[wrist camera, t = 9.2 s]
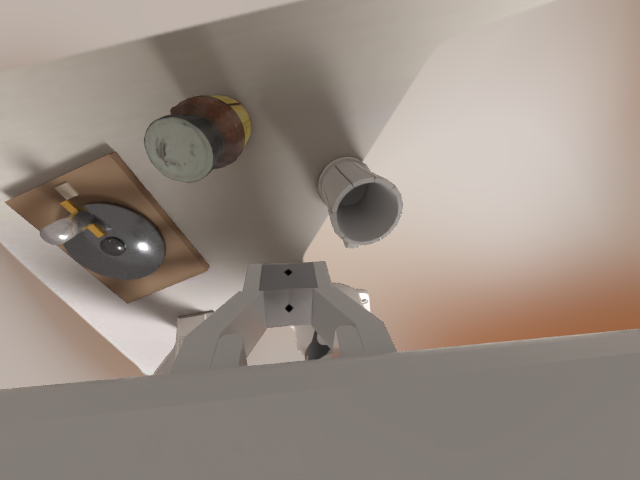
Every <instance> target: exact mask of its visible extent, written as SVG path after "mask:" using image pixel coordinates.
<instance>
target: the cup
mask: <svg viewBox="0 0 640 480" xmlns="http://www.w3.org/2000/svg"><path fill="white" fill-rule="evenodd" d="M318 190H319V194H320V197H321V199H322V201H323V203H324V204H325V205H326V206H327V207H328V211H329V215H330V219H331V223H332V226H333V228H334V231H335V233H336V234H337V235H338V236H339V237H340V238H341V239H343V242H344V244H345V247H346V248H356V247H358V246H359V245H367V244H372V243H375V242H377V241H379V240H380V238H381V239H383V238H384V237H386V236H387V235H388V234H390V233H391V231H392V230H393V229H394V228H395V226H396V225H397V224H398V222H399V219H400V217H401V215H400V214H402V208H403V202H402V198H401V194H400V192H399V190H398V189H397V187H396V186H395V185H394V184H392V183H391V182H390V181H388V180H387V179H385V178H383V177H381V176H379V175H376V174H374V173H373V172H371V171H370V170H369V168H368V167H367V165H366V164H364V163H363V162H361V161H360V160H358V159H356V158H352V157H340V158H338V159H336V160H334V161H332V162H330V163H329V164H328V165H327V166H326V167H325V168H324V170H323V171H322V173H321V175H320V178H319V182H318Z"/></svg>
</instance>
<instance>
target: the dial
mask: <svg viewBox="0 0 640 480" xmlns="http://www.w3.org/2000/svg"><path fill="white" fill-rule="evenodd" d="M60 204H61V205H62V206H63V207H64V208H66V209H67V210H68V211H69V213H68V214H67V215H66V216H65V217H64V218H62V219H60V220H58V221H56V222H54V223H52V224H50V225H48V226H46V227H44V228H43V229H41V230H40V236H41V237H42V239H43V240H45V241H46V242H48V243H50V244H53V245H61V244H63V245H64V247H65V249H66V250H67V252H68V253H69V254H70V255H71V256H72V257H73V258H74V259H75V260H76V261H77V262H78V263H80V264H81V265H82V266H84V267H85V268H87V269H89V270H91V271H93V272H95V273H97V274H100V275H102V276H106V277H109V278H114V279H122V280H133V279H139V278H143V277H146V276H148V275H150V274H152V273H153V272H155V271H156V270H157V269H158V268H159V266H160V265H161V264H162V262H163V261H164V258H165V255H166V243H165V240H164V238H163V236H162V234H161V232H160V231H159V229H158V228H157V227H156V226H155V225H154V224H153V223H152V222H151V221H150V220H149V219H148V218H147V217H145V216H144V215H142V214H141V213H139V212H137V211H135V210H133V209H131V208H129V207H126V206H123V205H120V204H116V203H110V202H92V203H88V204H84V205H82V206H79V207H77V206H75V205H74V204H73V203H72V202H71V201H70V200H69V199H68V200H66V201H63V202H61V203H60Z"/></svg>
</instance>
